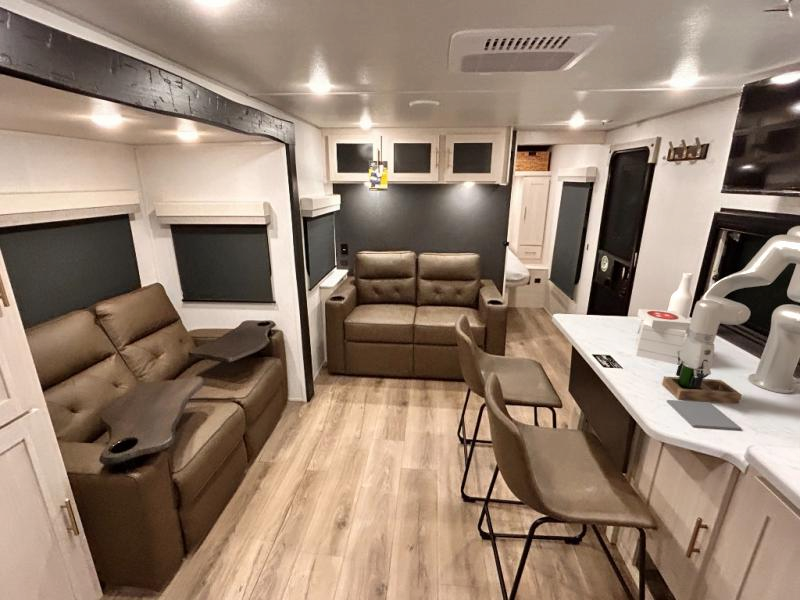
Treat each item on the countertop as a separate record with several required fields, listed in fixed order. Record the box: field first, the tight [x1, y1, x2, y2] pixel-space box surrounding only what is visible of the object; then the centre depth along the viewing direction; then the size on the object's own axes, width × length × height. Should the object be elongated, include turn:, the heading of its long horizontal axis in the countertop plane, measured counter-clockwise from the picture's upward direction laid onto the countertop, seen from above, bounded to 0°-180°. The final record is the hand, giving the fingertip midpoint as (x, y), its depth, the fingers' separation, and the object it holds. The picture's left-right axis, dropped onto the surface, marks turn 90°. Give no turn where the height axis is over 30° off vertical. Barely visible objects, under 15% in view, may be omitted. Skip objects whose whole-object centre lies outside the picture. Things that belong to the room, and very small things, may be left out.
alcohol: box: [667, 272, 694, 320], centre depth 190 cm, size 9×9×30 cm
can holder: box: [661, 376, 743, 404], centre depth 135 cm, size 20×10×4 cm, turn 85°
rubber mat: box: [666, 399, 742, 431], centre depth 123 cm, size 14×14×1 cm
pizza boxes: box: [635, 308, 691, 366], centre depth 169 cm, size 19×30×18 cm, turn 148°
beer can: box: [677, 361, 701, 390], centre depth 134 cm, size 5×5×12 cm
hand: (687, 381), depth 135 cm, fingers open, 7 cm apart
